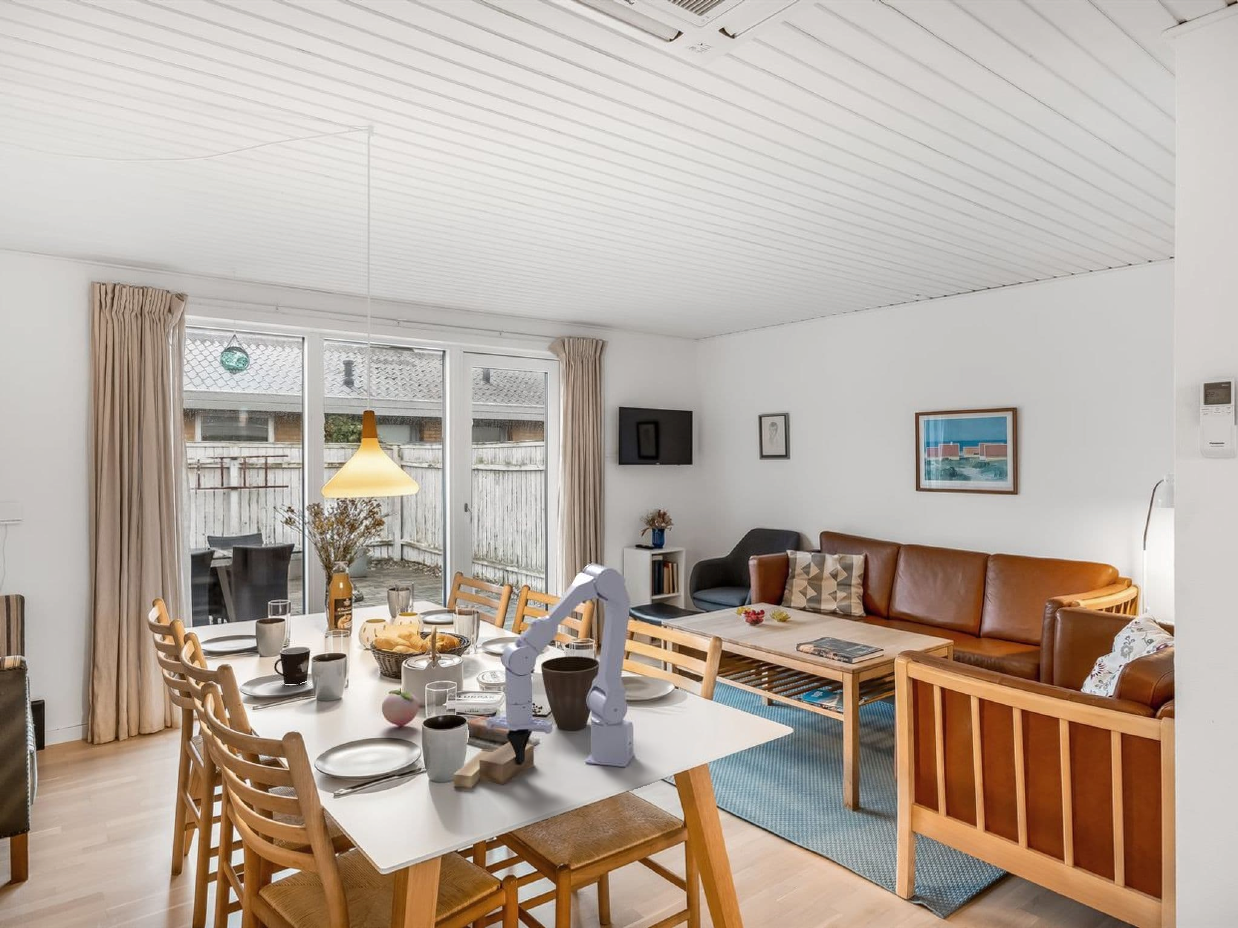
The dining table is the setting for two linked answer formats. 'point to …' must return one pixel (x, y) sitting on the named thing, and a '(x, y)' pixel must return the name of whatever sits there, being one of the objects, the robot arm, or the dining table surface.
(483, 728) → the reddish brown brick
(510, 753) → the block
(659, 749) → the dining table surface
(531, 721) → the robot arm
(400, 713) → the decorative fruit
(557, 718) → the plant pot
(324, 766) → the dining table surface
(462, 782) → the light wooden bar
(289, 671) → the coffee mug
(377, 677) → the dining table surface
